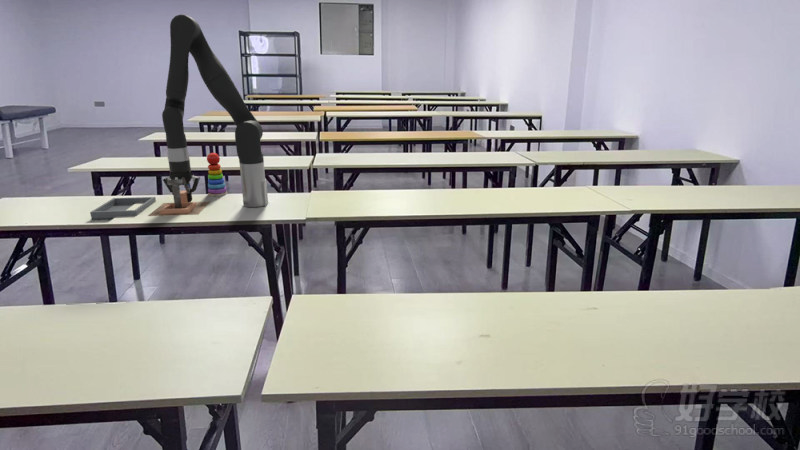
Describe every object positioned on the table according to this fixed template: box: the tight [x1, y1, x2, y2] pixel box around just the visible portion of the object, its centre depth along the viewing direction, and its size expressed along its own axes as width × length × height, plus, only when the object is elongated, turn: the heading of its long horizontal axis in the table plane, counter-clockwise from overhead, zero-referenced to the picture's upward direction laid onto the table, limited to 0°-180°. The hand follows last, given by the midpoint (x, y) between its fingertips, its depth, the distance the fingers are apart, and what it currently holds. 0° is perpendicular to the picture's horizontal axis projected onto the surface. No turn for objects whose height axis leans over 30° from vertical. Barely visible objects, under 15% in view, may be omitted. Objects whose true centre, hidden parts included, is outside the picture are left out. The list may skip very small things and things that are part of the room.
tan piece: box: [160, 190, 197, 214], centre depth 198 cm, size 10×15×5 cm, turn 6°
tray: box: [89, 196, 157, 221], centre depth 198 cm, size 16×20×3 cm
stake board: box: [147, 179, 211, 217], centre depth 197 cm, size 18×18×13 cm
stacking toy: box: [206, 152, 228, 197], centre depth 218 cm, size 8×8×19 cm
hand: (184, 202), depth 204 cm, fingers closed on tan piece, 3 cm apart
